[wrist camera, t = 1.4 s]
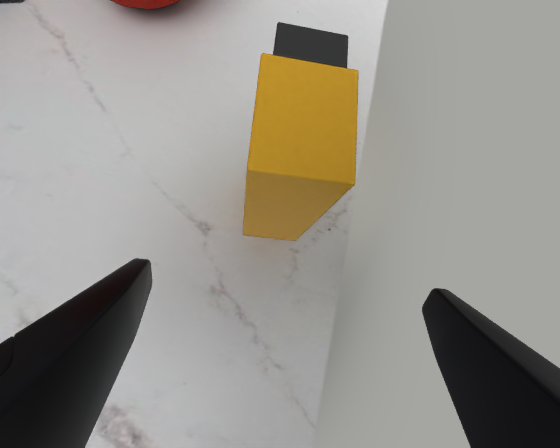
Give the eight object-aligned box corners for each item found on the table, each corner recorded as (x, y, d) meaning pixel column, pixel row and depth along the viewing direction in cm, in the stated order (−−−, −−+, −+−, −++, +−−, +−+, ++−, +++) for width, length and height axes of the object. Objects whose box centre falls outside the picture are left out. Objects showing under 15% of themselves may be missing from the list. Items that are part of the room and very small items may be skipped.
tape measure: (295, 241, 22) (356, 184, 11) (242, 235, 22) (246, 169, 10) (301, 161, 24) (360, 37, 12) (252, 154, 24) (265, 18, 12)
